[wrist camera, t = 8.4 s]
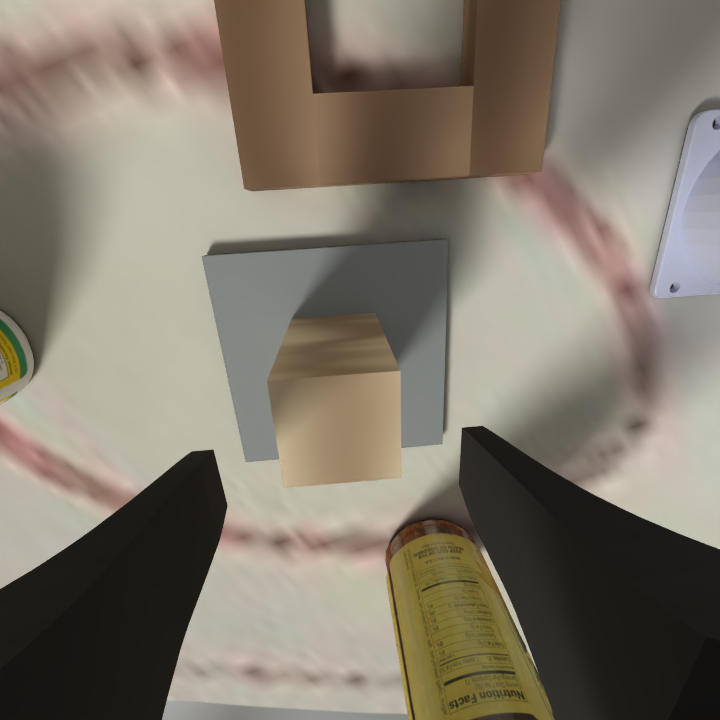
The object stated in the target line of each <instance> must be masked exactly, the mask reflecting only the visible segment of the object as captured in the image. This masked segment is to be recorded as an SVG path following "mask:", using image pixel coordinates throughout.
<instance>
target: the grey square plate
mask: <svg viewBox="0 0 720 720" xmlns="http://www.w3.org/2000/svg"><path fill="white" fill-rule="evenodd" d="M448 244H449V240H448V239H436V240H421V241H406V242H392V243H377V244H362V245H347V246H332V247H318V248H303V249H288V250H273V251H258V252H244V253H229V254H214V255H205V256H202V260H203V265H204V269H205V274H206V279H207V283H208V288H209V293H210V297H211V302H212V307H213V311H214V316H215V321H216V325H217V330H218V335H219V339H220V344H221V349H222V353H223V358H224V363H225V367H226V372H227V377H228V381H229V386H230V391H231V395H232V400H233V405H234V409H235V414H236V419H237V423H238V428H239V433H240V437H241V442H242V447H243V451H244V456H245V461H246V462H253V461H264V460H275V459H279V454H278V447H277V441H276V435H275V429H274V422H273V416H272V410H271V404H270V397H269V391H268V385H267V379H268V377H269V374H270V372H271V369H272V366H273V364H274V361H275V359H276V356H277V354H278V351H279V349H280V346H281V344H282V341H283V339H284V336H285V334H286V331H287V329H288V326H289V324H290V321H291V319H292V318H307V317H322V316H337V315H353V314H368V313H375V314H376V316H377V318H378V320H379V323H380V325H381V327H382V330H383V332H384V334H385V336H386V339H387V341H388V343H389V346H390V348H391V350H392V353H393V355H394V357H395V359H396V362H397V364H398V366H399V369H400V372H401V448H405V447H416V446H427V445H438V444H442V442H443V409H444V376H445V343H446V310H447V277H448Z"/></svg>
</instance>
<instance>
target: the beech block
mask: <svg viewBox="0 0 720 720" xmlns="http://www.w3.org/2000/svg"><path fill="white" fill-rule="evenodd" d="M267 385H268V391H269V397H270V404H271V410H272V416H273V422H274V429H275V435H276V441H277V447H278V454H279V460H280V466H281V472H282V479H283V485H284V488H290V487H301V486H312V485H324V484H335V483H347V482H358V481H370V480H381V479H392V478H401V372H400V369H399V366H398V364H397V362H396V359H395V357H394V355H393V353H392V350H391V348H390V346H389V343H388V341H387V339H386V336H385V334H384V332H383V330H382V327H381V325H380V323H379V320H378V318H377V316H376V314H375V313H368V314H353V315H337V316H322V317H307V318H292V319H291V321H290V324H289V326H288V329H287V331H286V334H285V336H284V339H283V341H282V344H281V346H280V349H279V351H278V354H277V356H276V359H275V361H274V364H273V366H272V369H271V372H270V374H269V377H268V379H267Z"/></svg>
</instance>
